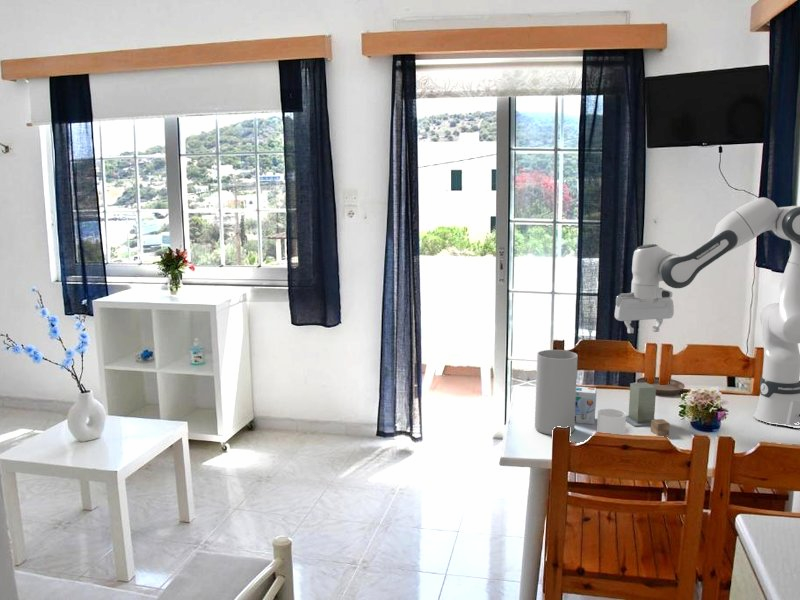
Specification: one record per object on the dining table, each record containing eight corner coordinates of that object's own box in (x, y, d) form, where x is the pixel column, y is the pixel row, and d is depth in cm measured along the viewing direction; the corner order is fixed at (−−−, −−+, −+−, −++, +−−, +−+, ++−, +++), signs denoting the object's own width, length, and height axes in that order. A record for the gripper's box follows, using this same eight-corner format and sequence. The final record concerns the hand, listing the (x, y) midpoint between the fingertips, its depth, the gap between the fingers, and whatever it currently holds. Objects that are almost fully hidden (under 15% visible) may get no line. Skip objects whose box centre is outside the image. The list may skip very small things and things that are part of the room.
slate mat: (646, 415, 254) (646, 414, 254) (662, 425, 244) (662, 423, 244) (619, 417, 252) (619, 416, 252) (634, 426, 242) (634, 425, 242)
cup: (600, 449, 222) (601, 417, 220) (590, 435, 234) (592, 404, 232) (627, 449, 222) (629, 417, 220) (616, 435, 234) (618, 405, 232)
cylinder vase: (527, 425, 243) (530, 351, 239) (561, 421, 247) (564, 348, 243) (546, 438, 231) (549, 360, 227) (581, 434, 235) (585, 357, 231)
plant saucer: (692, 390, 284) (693, 383, 284) (670, 400, 272) (671, 392, 272) (650, 381, 297) (650, 374, 297) (627, 390, 285) (627, 382, 285)
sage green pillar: (644, 416, 251) (646, 382, 249) (653, 422, 246) (656, 387, 244) (628, 417, 250) (630, 383, 248) (637, 423, 244) (639, 388, 242)
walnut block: (662, 431, 239) (662, 419, 238) (668, 435, 235) (669, 423, 234) (650, 431, 238) (651, 419, 237) (657, 435, 234) (657, 423, 233)
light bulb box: (561, 421, 247) (562, 390, 246) (563, 415, 254) (564, 384, 252) (594, 424, 244) (596, 393, 243) (595, 418, 251) (596, 387, 249)
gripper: (620, 295, 246) (619, 335, 248) (677, 292, 249) (675, 332, 252) (611, 292, 252) (610, 332, 254) (667, 289, 256) (665, 329, 258)
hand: (643, 332), depth 253 cm, fingers open, 8 cm apart
